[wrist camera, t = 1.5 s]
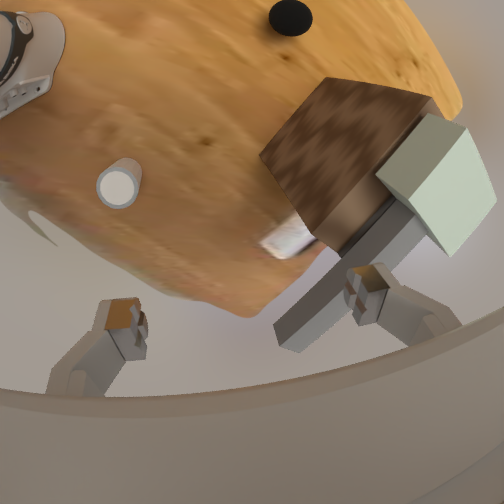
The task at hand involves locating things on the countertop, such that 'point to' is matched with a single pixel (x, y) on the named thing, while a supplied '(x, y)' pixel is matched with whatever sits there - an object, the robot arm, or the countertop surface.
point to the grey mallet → (403, 220)
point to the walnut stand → (343, 155)
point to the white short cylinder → (120, 183)
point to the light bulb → (290, 17)
